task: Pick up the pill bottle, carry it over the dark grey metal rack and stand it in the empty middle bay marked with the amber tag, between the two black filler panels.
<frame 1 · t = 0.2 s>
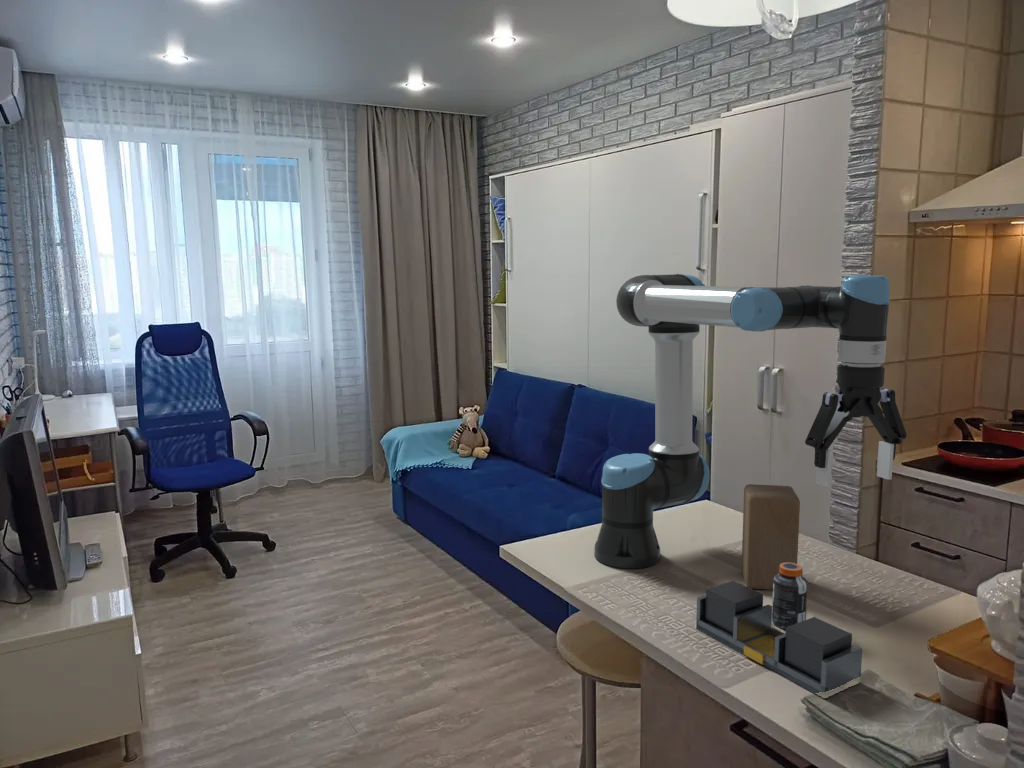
hand: (854, 481, 133), 27 cm above the countertop, fingers open, 13 cm apart
pill bottle: (788, 624, 138), on the countertop
rack: (772, 653, 127), on the countertop
block: (767, 582, 157), on the countertop
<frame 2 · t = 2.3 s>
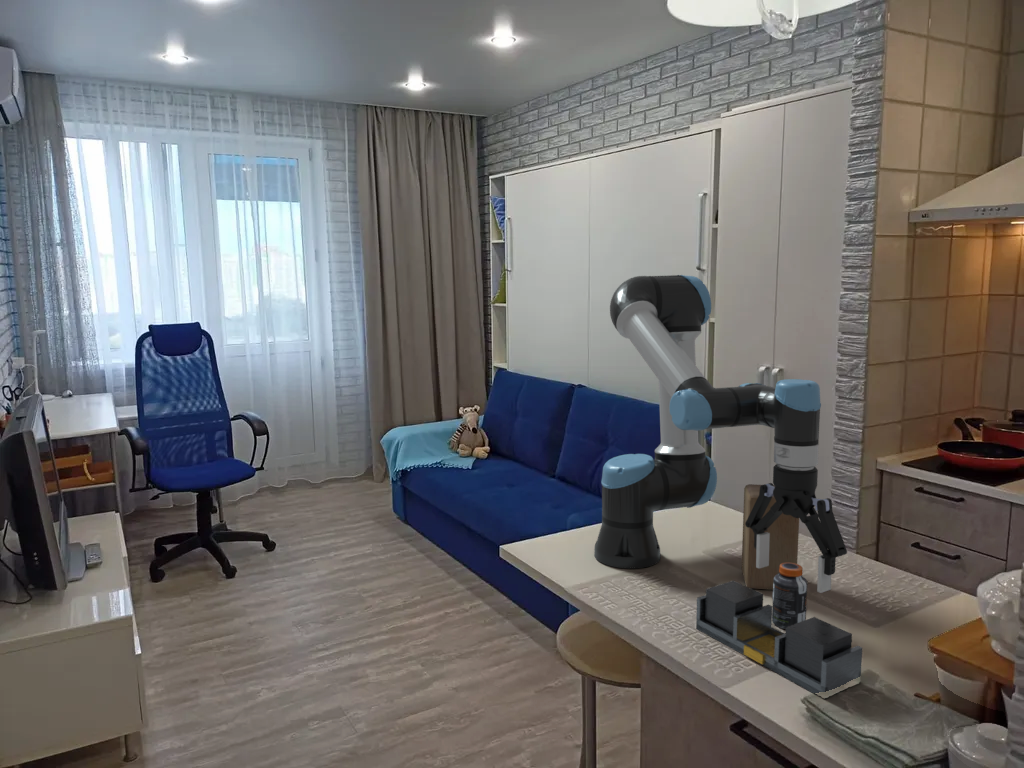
hand: (791, 578, 136), 9 cm above the countertop, fingers open, 13 cm apart
nothing on the countertop moved.
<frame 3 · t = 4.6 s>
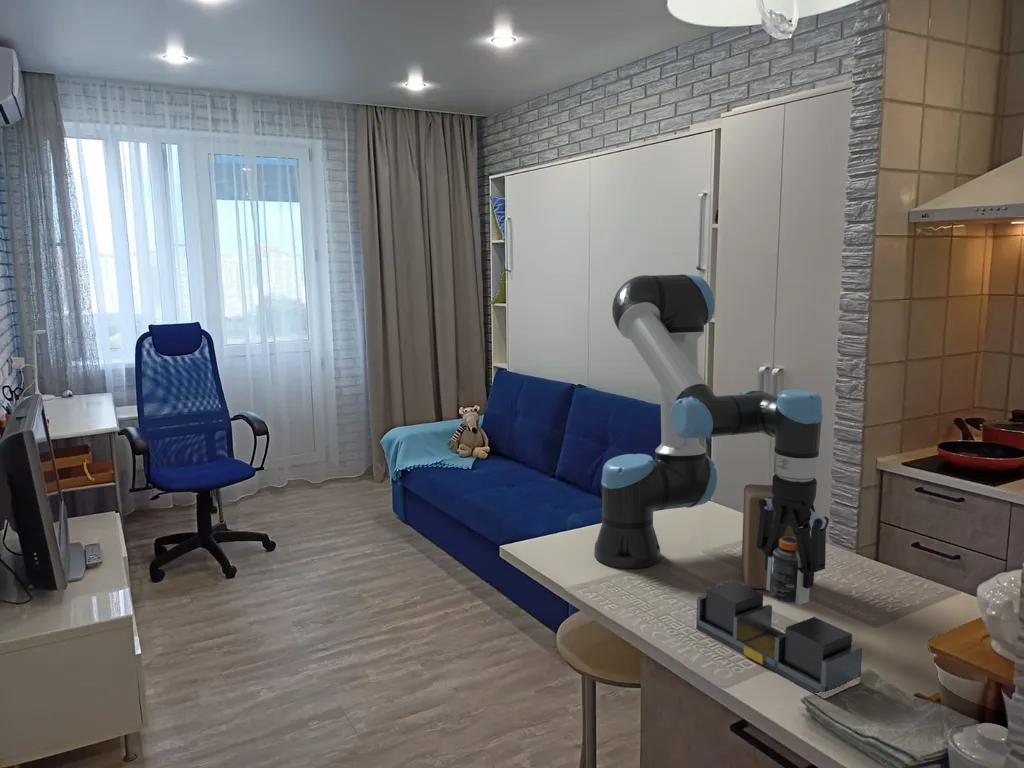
hand: (787, 595, 138), 5 cm above the countertop, fingers closed on pill bottle, 6 cm apart
pill bottle: (787, 598, 138), point 5 cm above the countertop, touching gripper
everything else where it was.
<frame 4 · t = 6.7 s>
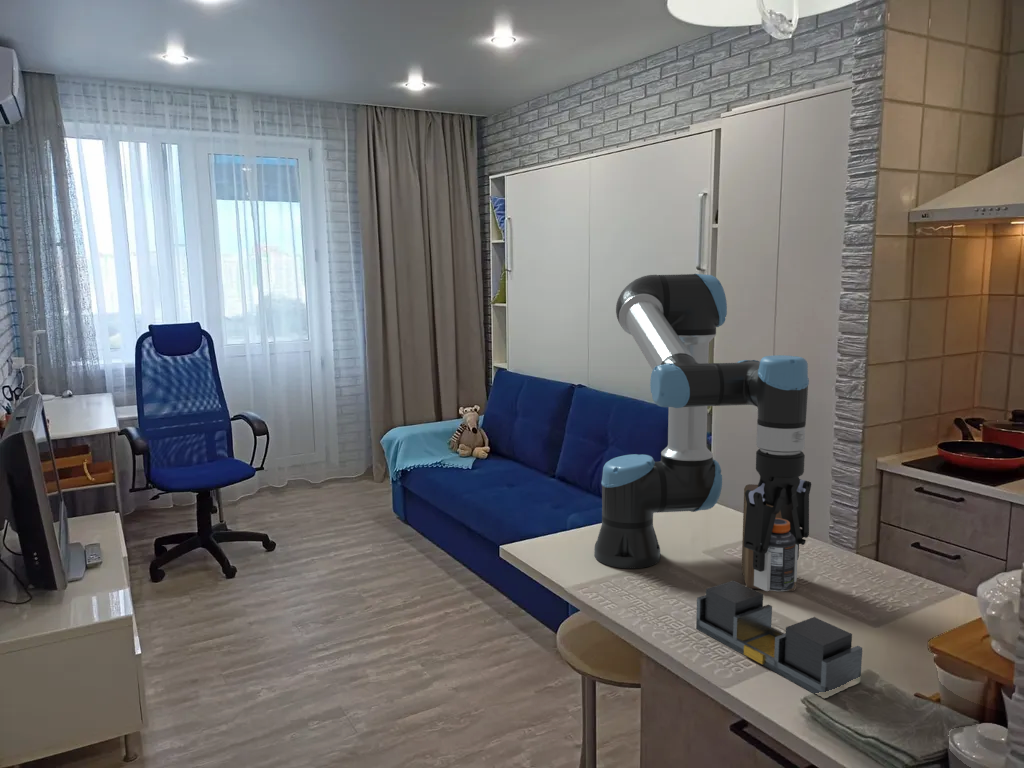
hand: (775, 583, 125), 13 cm above the countertop, fingers closed on pill bottle, 6 cm apart
pill bottle: (775, 586, 125), point 12 cm above the countertop, touching gripper
everything else where it was.
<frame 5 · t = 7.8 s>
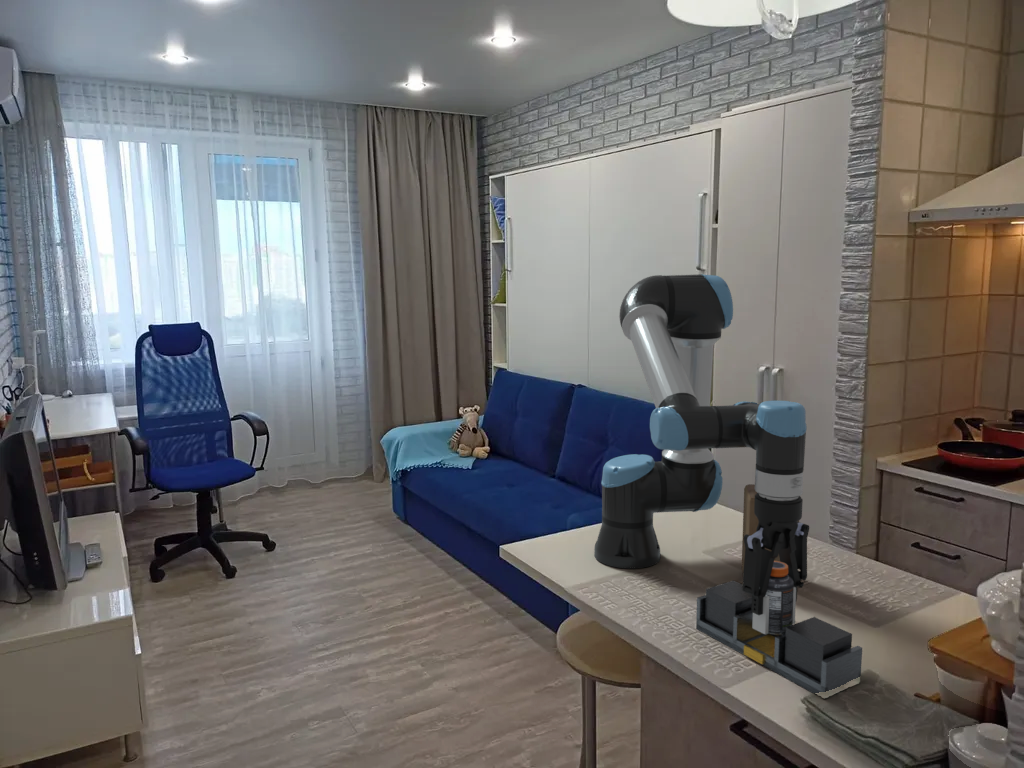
hand: (773, 625, 126), 5 cm above the countertop, fingers closed on pill bottle, 6 cm apart
pill bottle: (773, 628, 126), point 5 cm above the countertop, touching gripper
everything else where it was.
when the fingers open (2 cm above the countertop, at t = 8.7 s): pill bottle stays where it is, resting on rack.
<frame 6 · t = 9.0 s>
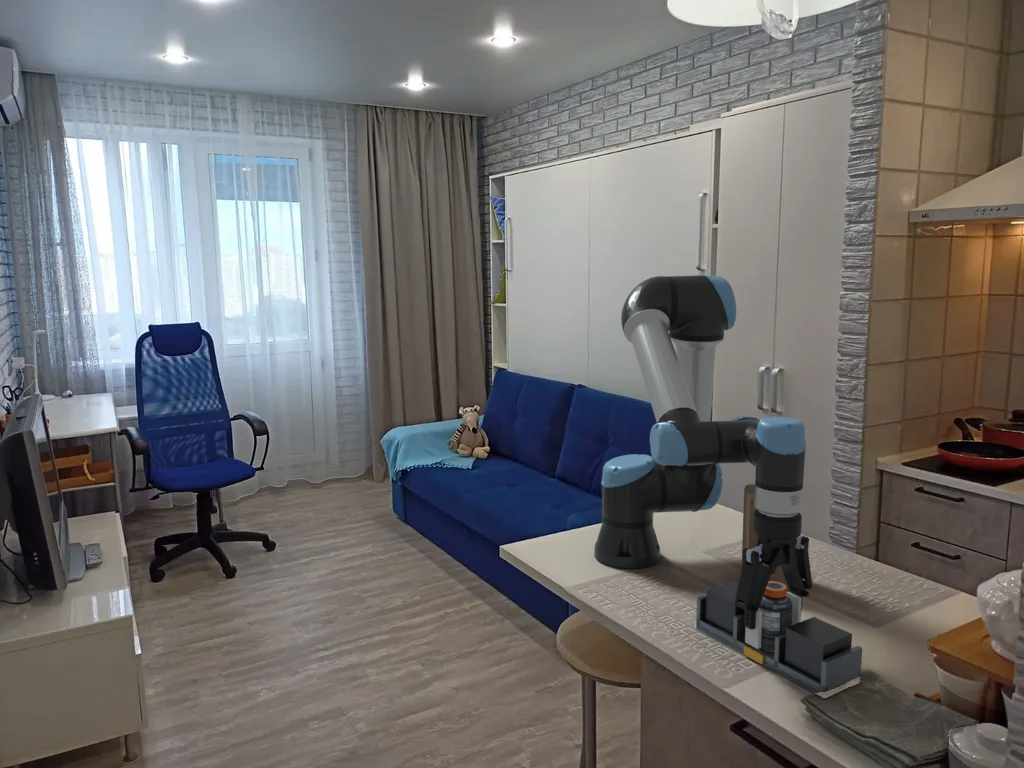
hand: (772, 637, 126), 3 cm above the countertop, fingers open, 9 cm apart
pill bottle: (772, 648, 127), point 1 cm above the countertop, touching rack
everything else where it was.
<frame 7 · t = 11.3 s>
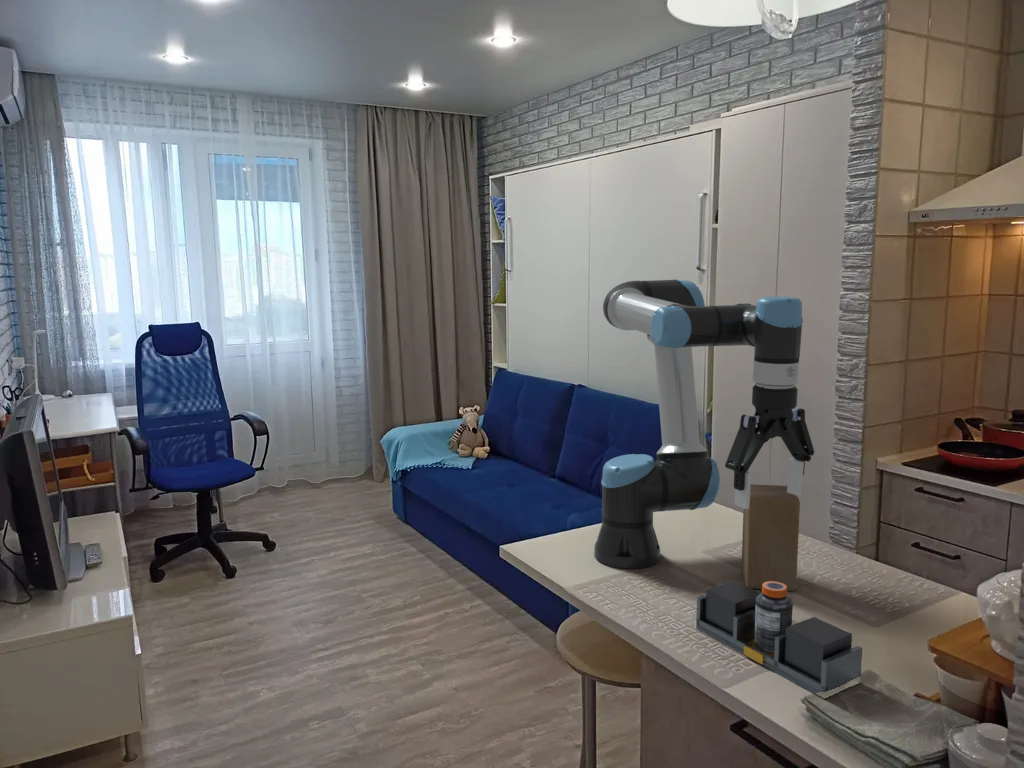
hand: (768, 500, 134), 24 cm above the countertop, fingers open, 13 cm apart
nothing on the countertop moved.
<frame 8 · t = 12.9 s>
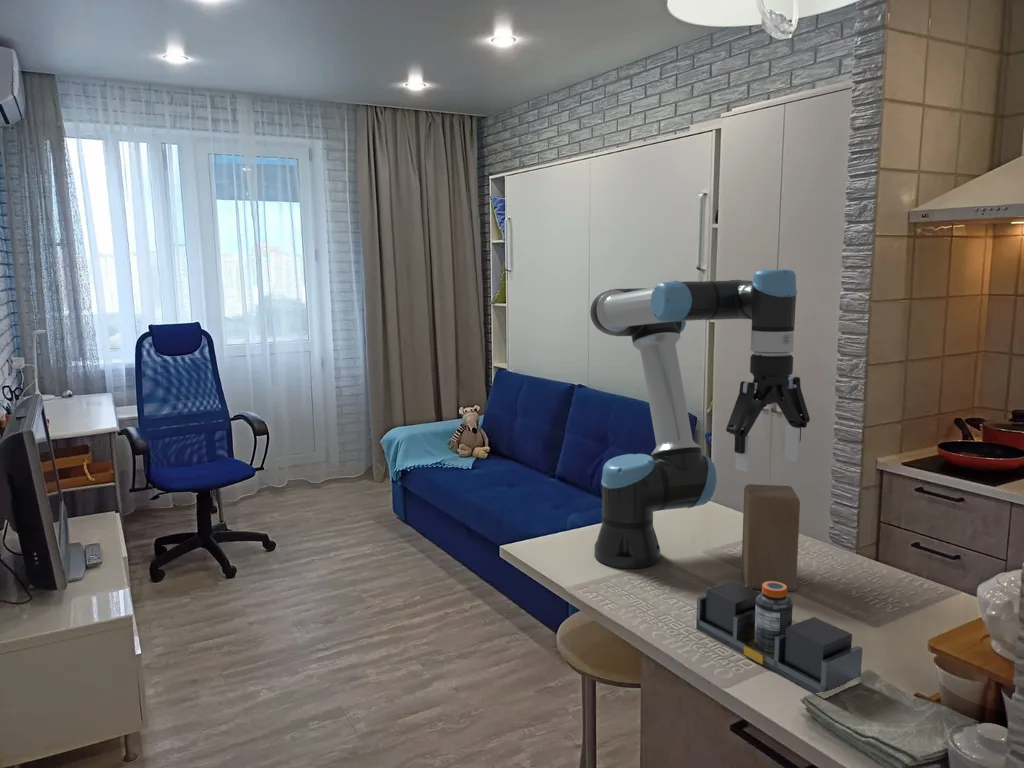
hand: (767, 465, 140), 29 cm above the countertop, fingers open, 13 cm apart
nothing on the countertop moved.
at the end: pill bottle 0.1 cm off-centre on the rack, point 0.9 cm above the rack's base; pill bottle tilted 0°; the gripper is holding nothing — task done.
